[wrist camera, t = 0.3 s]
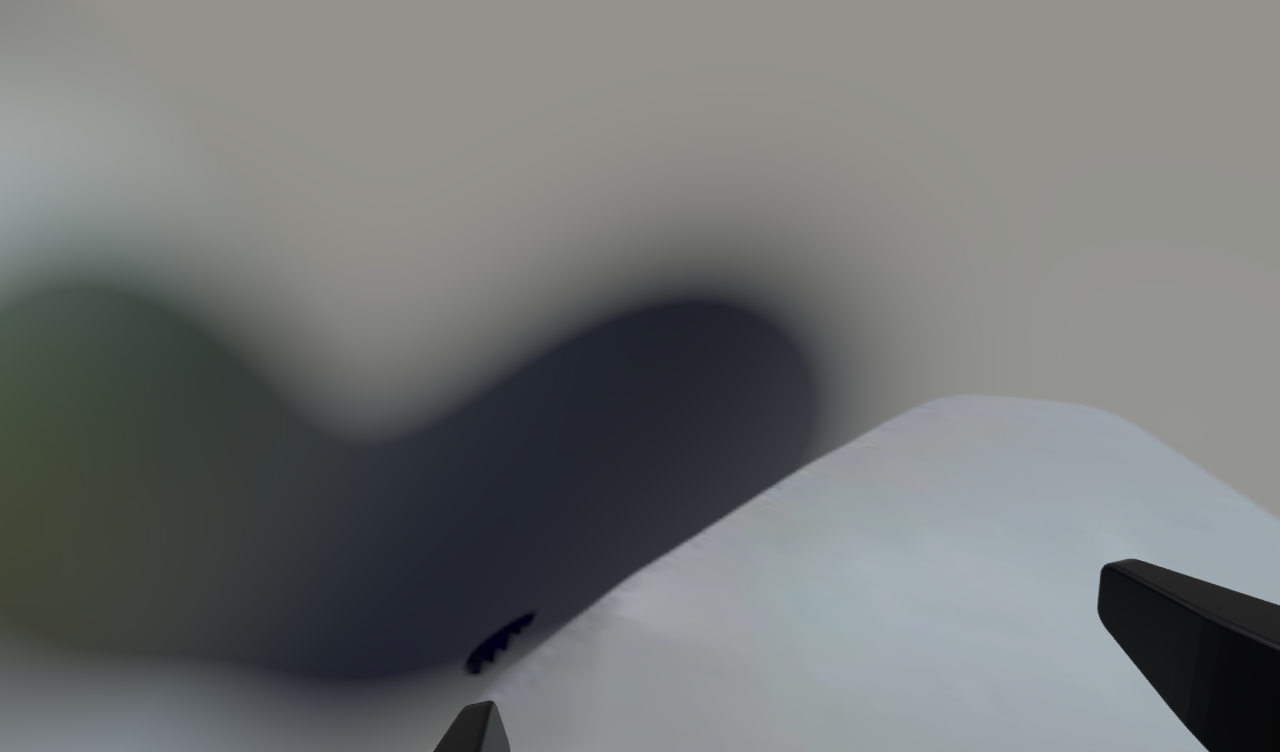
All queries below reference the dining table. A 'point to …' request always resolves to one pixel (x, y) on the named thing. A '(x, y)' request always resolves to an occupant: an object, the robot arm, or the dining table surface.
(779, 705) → the dining table surface
